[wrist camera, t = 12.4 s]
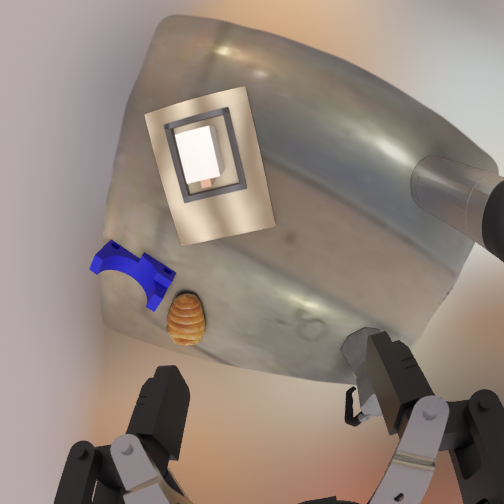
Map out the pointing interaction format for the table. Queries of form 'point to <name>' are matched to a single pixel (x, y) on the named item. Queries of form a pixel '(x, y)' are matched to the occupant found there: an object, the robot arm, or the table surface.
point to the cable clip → (136, 270)
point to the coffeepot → (360, 378)
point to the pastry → (186, 320)
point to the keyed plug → (200, 155)
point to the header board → (225, 187)
